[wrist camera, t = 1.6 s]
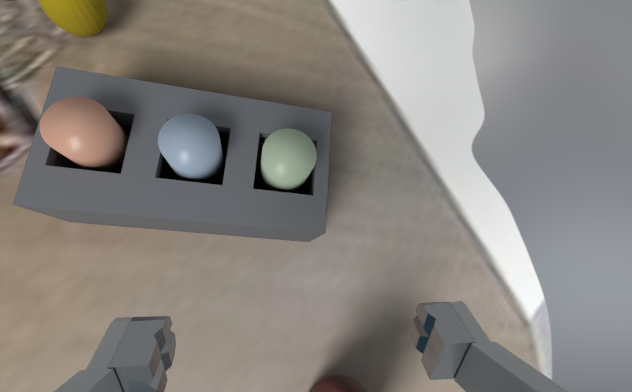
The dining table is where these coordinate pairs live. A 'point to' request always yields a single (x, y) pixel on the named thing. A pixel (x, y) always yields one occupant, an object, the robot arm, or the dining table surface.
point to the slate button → (191, 147)
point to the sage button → (287, 159)
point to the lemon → (77, 15)
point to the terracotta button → (84, 133)
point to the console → (174, 195)
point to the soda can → (339, 385)
